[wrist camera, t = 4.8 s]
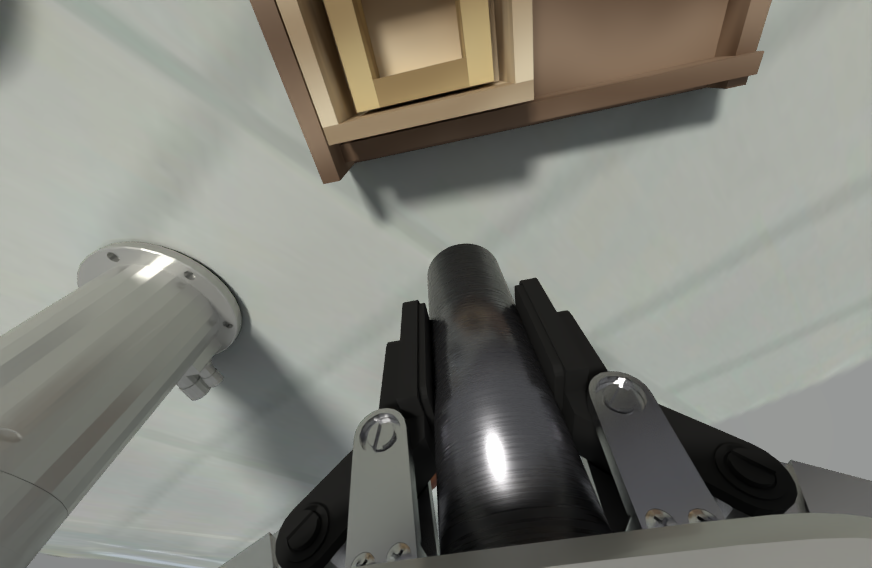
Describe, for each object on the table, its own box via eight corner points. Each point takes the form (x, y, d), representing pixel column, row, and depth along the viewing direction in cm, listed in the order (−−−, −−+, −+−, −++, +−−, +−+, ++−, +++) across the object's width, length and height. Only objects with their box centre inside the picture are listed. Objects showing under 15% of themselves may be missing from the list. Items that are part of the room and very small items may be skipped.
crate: (511, 92, 18) (533, 99, 14) (351, 129, 20) (329, 145, 15) (499, -146, 13) (527, -241, 9) (283, -80, 14) (224, -140, 10)
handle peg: (501, 297, 15) (610, 587, 6) (435, 309, 15) (456, 606, 7) (495, 236, 13) (636, 527, 5) (420, 251, 13) (423, 555, 5)
